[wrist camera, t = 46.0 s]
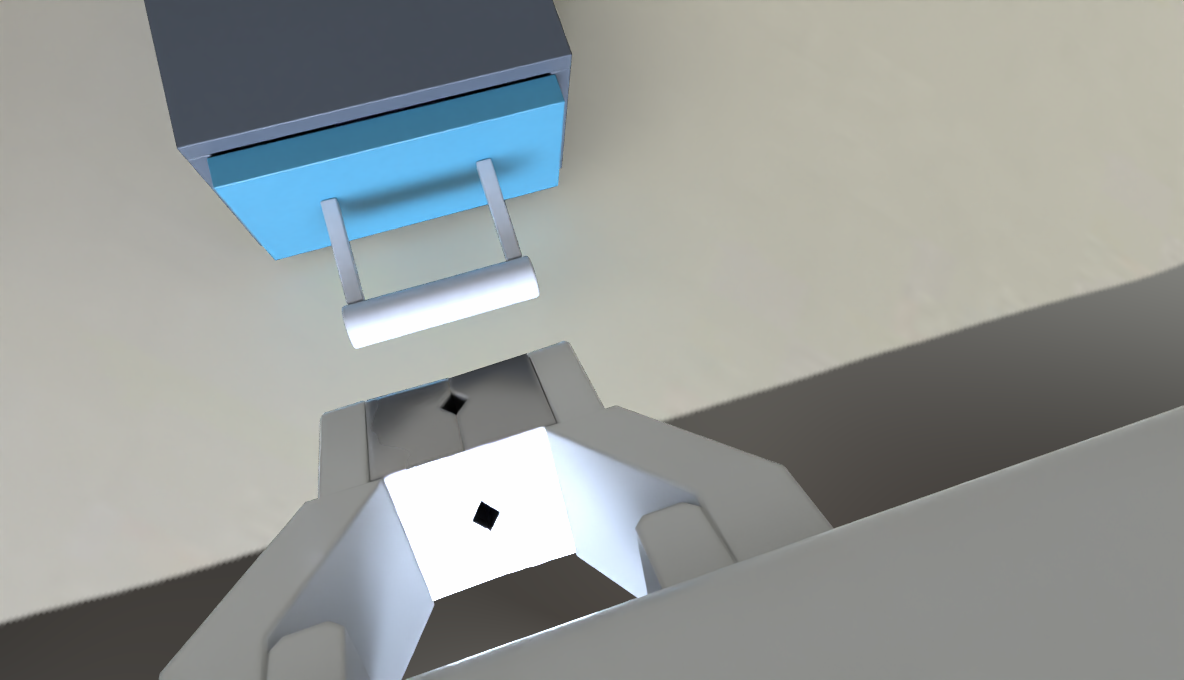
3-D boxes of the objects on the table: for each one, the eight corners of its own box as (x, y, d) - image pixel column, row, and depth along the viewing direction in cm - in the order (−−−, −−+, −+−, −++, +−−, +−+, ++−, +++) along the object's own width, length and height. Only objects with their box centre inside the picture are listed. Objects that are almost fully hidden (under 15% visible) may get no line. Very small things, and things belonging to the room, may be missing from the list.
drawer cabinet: (562, 168, 36) (572, 54, 28) (261, 247, 34) (176, 148, 26) (473, -89, 40) (459, -259, 31) (193, -31, 38) (99, -197, 29)
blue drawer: (599, 306, 34) (616, 246, 27) (306, 391, 32) (250, 349, 25) (473, -62, 38) (462, -190, 32) (209, -7, 36) (139, -130, 30)
